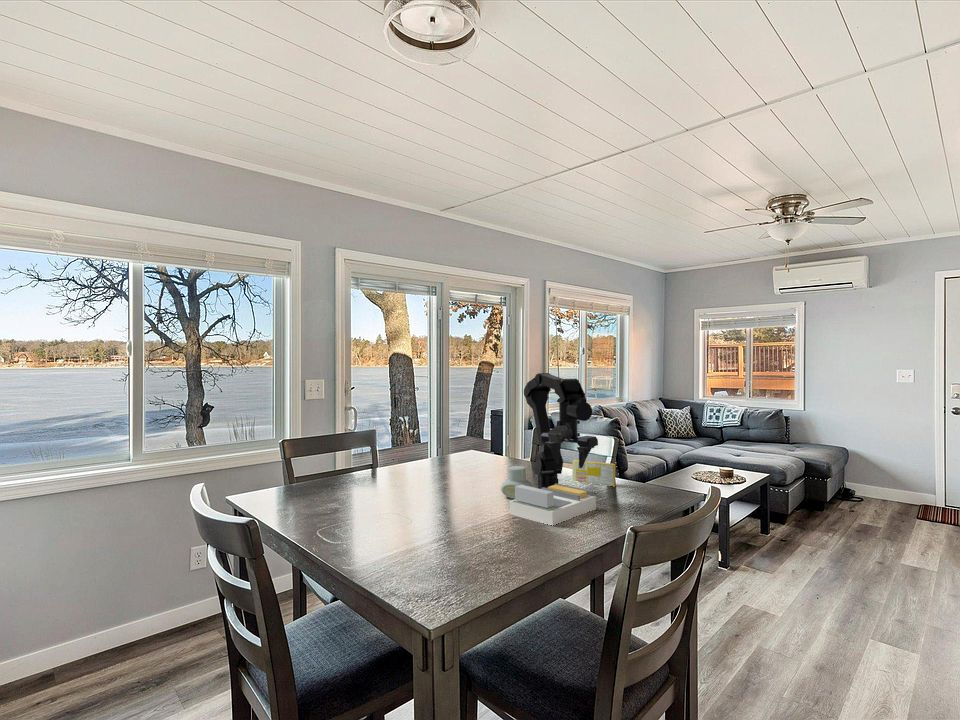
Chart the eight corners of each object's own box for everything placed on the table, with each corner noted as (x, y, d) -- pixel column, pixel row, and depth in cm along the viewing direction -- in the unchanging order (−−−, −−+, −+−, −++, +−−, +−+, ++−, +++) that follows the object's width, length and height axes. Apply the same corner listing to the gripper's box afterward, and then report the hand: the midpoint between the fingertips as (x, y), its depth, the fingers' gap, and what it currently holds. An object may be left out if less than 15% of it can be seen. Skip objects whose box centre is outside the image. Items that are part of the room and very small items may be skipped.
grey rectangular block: (515, 499, 152) (514, 486, 152) (521, 498, 154) (521, 484, 154) (547, 508, 143) (547, 493, 143) (553, 505, 146) (553, 491, 146)
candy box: (616, 486, 186) (615, 463, 186) (614, 487, 184) (614, 464, 184) (574, 481, 195) (573, 459, 195) (572, 482, 193) (571, 460, 193)
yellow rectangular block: (547, 491, 163) (547, 486, 163) (555, 489, 166) (555, 484, 166) (579, 498, 155) (579, 493, 155) (586, 496, 157) (586, 491, 157)
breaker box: (509, 514, 153) (509, 495, 153) (554, 499, 169) (554, 482, 169) (552, 526, 142) (552, 506, 142) (595, 509, 157) (595, 491, 157)
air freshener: (536, 496, 174) (536, 466, 173) (527, 502, 166) (527, 471, 166) (507, 492, 178) (507, 463, 178) (497, 498, 171) (497, 468, 171)
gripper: (530, 417, 165) (530, 465, 165) (578, 422, 152) (578, 474, 152) (550, 414, 173) (551, 460, 173) (598, 418, 160) (599, 468, 160)
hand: (568, 465), depth 164 cm, fingers open, 9 cm apart
